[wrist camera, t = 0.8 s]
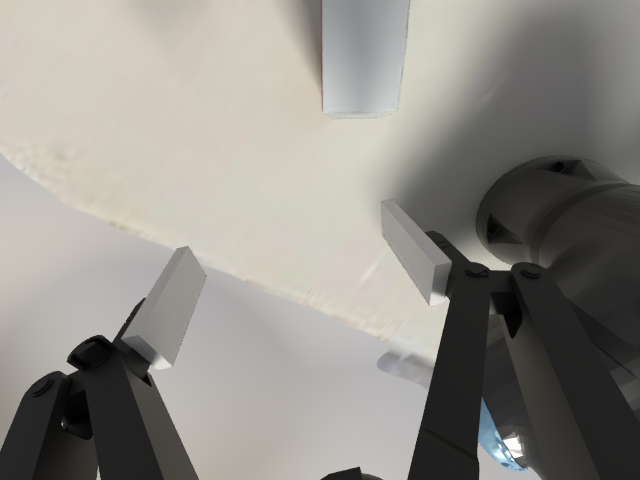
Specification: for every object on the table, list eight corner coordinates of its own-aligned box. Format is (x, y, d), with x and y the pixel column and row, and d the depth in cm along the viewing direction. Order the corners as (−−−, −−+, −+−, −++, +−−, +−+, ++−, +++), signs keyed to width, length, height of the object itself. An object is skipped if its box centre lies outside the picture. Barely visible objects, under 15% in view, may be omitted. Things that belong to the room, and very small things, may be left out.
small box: (332, 44, 28) (319, -21, 16) (387, 41, 27) (416, -29, 15) (332, 121, 31) (321, 113, 19) (381, 120, 30) (400, 112, 19)
